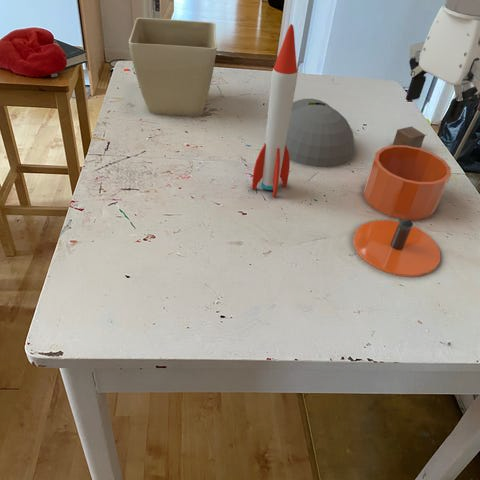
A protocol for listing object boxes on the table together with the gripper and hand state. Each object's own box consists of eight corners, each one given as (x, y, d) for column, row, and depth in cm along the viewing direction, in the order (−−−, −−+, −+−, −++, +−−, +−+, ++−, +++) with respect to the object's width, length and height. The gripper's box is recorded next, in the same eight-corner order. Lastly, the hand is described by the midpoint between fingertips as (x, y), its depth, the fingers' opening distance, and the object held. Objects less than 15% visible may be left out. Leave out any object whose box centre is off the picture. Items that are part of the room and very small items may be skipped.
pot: (400, 176, 104) (413, 140, 98) (449, 212, 96) (467, 174, 90) (349, 191, 99) (359, 153, 92) (396, 229, 91) (411, 191, 84)
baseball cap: (345, 112, 121) (359, 69, 110) (352, 189, 108) (368, 148, 98) (272, 106, 120) (279, 61, 109) (270, 182, 108) (277, 140, 97)
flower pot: (141, 88, 126) (136, 15, 113) (212, 92, 127) (215, 21, 115) (134, 120, 113) (127, 42, 100) (214, 124, 115) (216, 48, 102)
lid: (397, 217, 93) (407, 190, 89) (456, 264, 85) (471, 236, 80) (335, 237, 87) (343, 209, 83) (392, 289, 79) (404, 262, 74)
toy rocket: (286, 189, 97) (315, 24, 76) (274, 201, 94) (301, 32, 72) (262, 180, 99) (284, 16, 77) (250, 192, 96) (269, 23, 74)
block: (405, 144, 115) (411, 126, 112) (418, 153, 113) (425, 134, 109) (391, 148, 113) (397, 129, 110) (404, 156, 111) (411, 138, 107)
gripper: (530, 17, 72) (480, 126, 85) (445, -13, 82) (411, 89, 94) (499, 21, 69) (452, 133, 82) (415, -11, 79) (384, 94, 91)
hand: (430, 109), depth 88 cm, fingers open, 9 cm apart
